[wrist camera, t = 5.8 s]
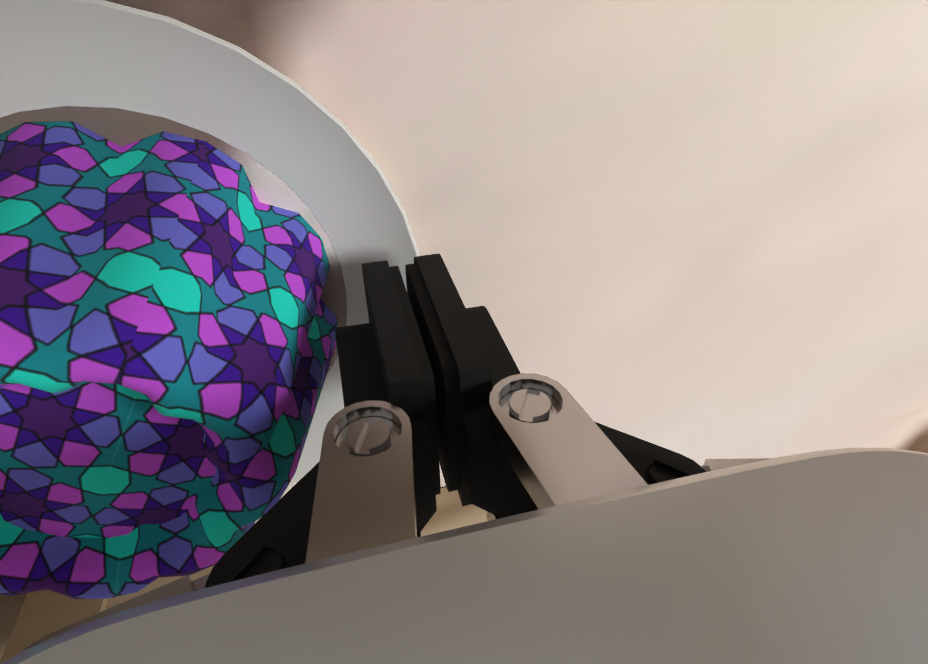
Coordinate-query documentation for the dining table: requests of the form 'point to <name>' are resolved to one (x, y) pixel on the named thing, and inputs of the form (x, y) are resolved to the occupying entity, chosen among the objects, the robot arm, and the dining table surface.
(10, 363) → the pudding
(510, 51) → the dining table surface
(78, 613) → the pair of beige bars
